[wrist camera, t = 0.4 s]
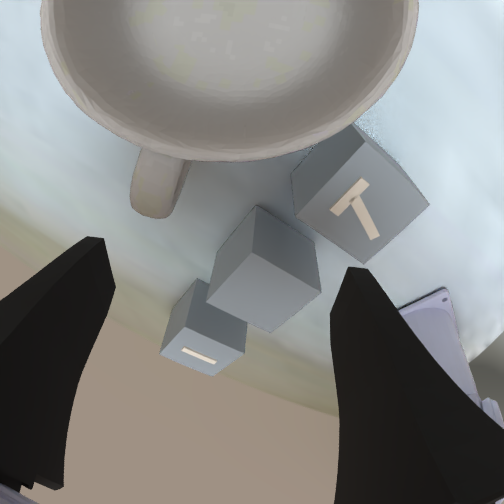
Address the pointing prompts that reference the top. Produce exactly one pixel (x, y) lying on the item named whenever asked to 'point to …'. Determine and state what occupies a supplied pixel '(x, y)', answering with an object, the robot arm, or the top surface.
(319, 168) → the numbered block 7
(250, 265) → the plain block
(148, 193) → the teacup
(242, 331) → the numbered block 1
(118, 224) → the top surface
